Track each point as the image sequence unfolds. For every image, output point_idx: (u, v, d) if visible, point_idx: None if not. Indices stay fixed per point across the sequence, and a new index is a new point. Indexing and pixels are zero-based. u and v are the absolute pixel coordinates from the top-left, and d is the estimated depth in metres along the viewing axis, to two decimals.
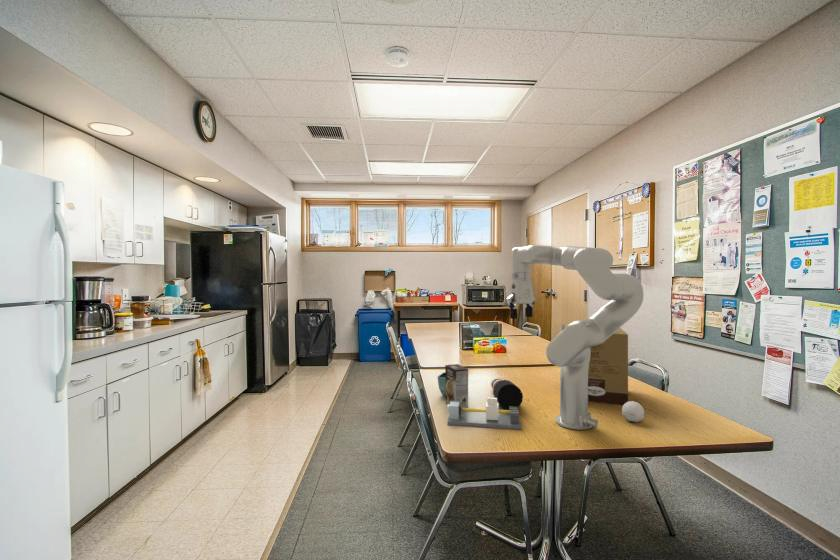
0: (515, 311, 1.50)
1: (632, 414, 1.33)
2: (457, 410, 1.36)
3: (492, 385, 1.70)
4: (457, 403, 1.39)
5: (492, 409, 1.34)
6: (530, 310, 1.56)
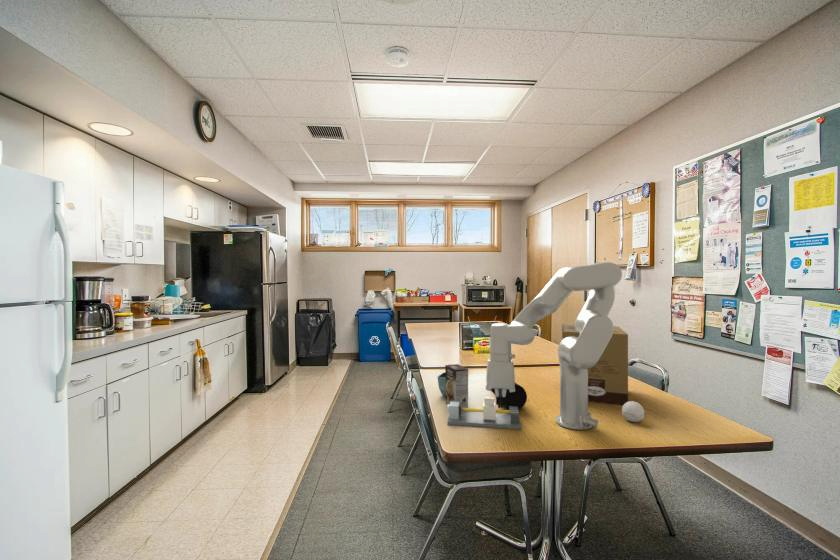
0: None
1: (632, 414, 1.33)
2: (457, 410, 1.36)
3: None
4: (457, 403, 1.39)
5: (489, 409, 1.34)
6: None
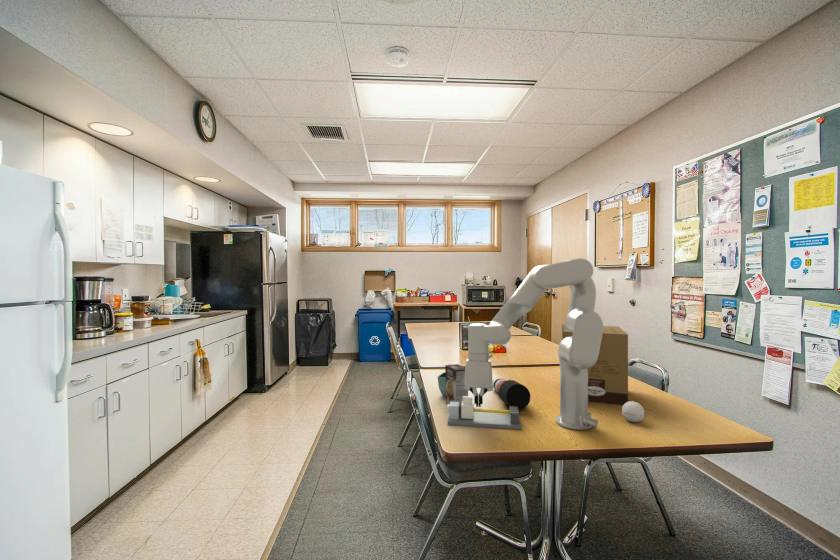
0: None
1: (632, 414, 1.33)
2: (457, 410, 1.36)
3: (494, 385, 1.70)
4: (457, 403, 1.39)
5: (467, 408, 1.36)
6: None
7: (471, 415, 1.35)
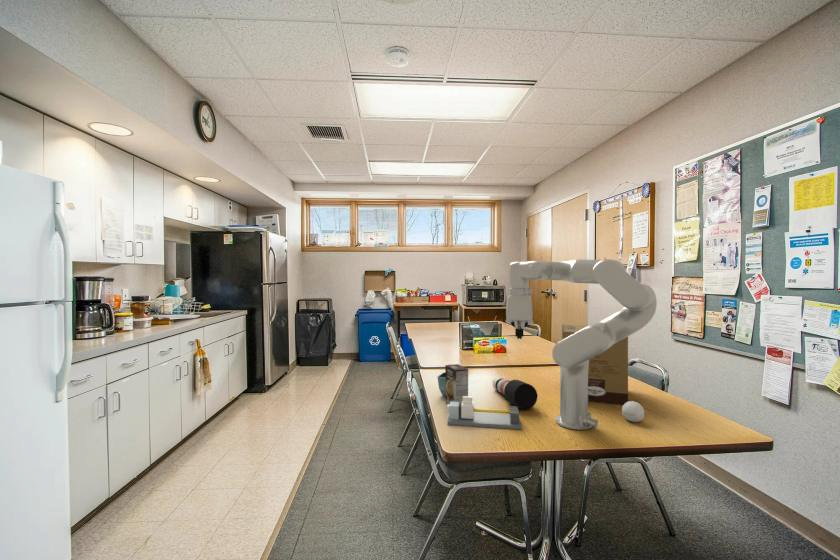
0: None
1: (632, 414, 1.33)
2: (457, 410, 1.36)
3: (496, 385, 1.69)
4: (457, 403, 1.39)
5: (467, 408, 1.36)
6: None
7: (471, 415, 1.35)
